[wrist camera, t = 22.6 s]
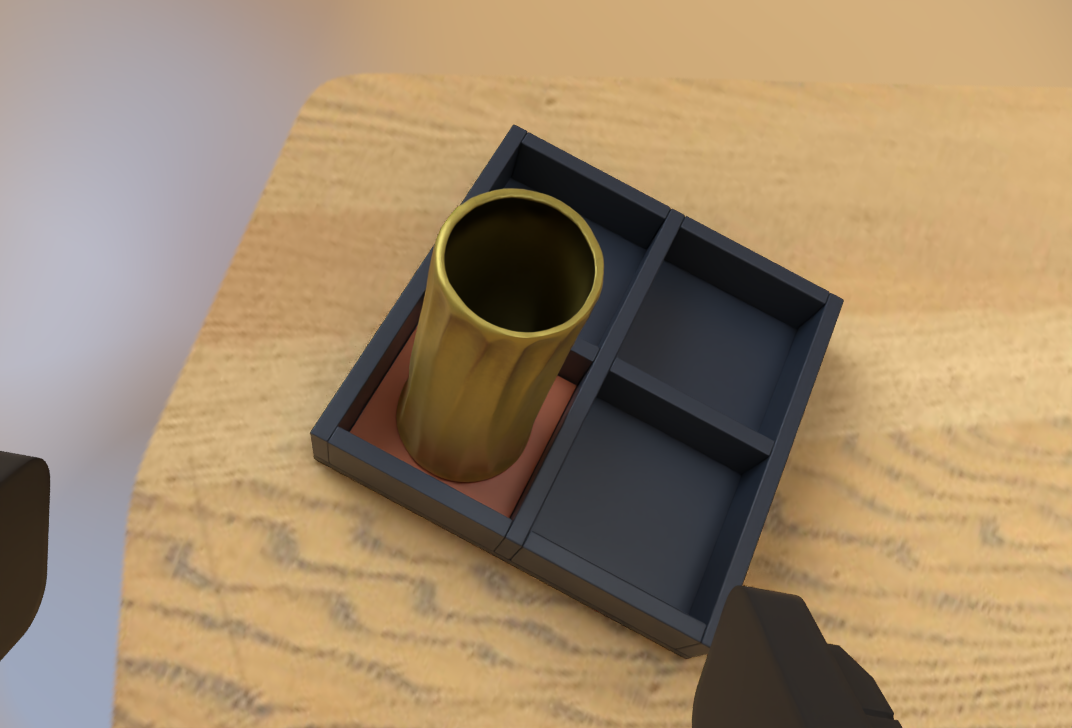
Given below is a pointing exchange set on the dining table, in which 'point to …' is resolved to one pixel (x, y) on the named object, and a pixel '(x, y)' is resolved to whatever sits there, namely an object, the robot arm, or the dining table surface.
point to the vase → (495, 329)
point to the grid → (620, 412)
